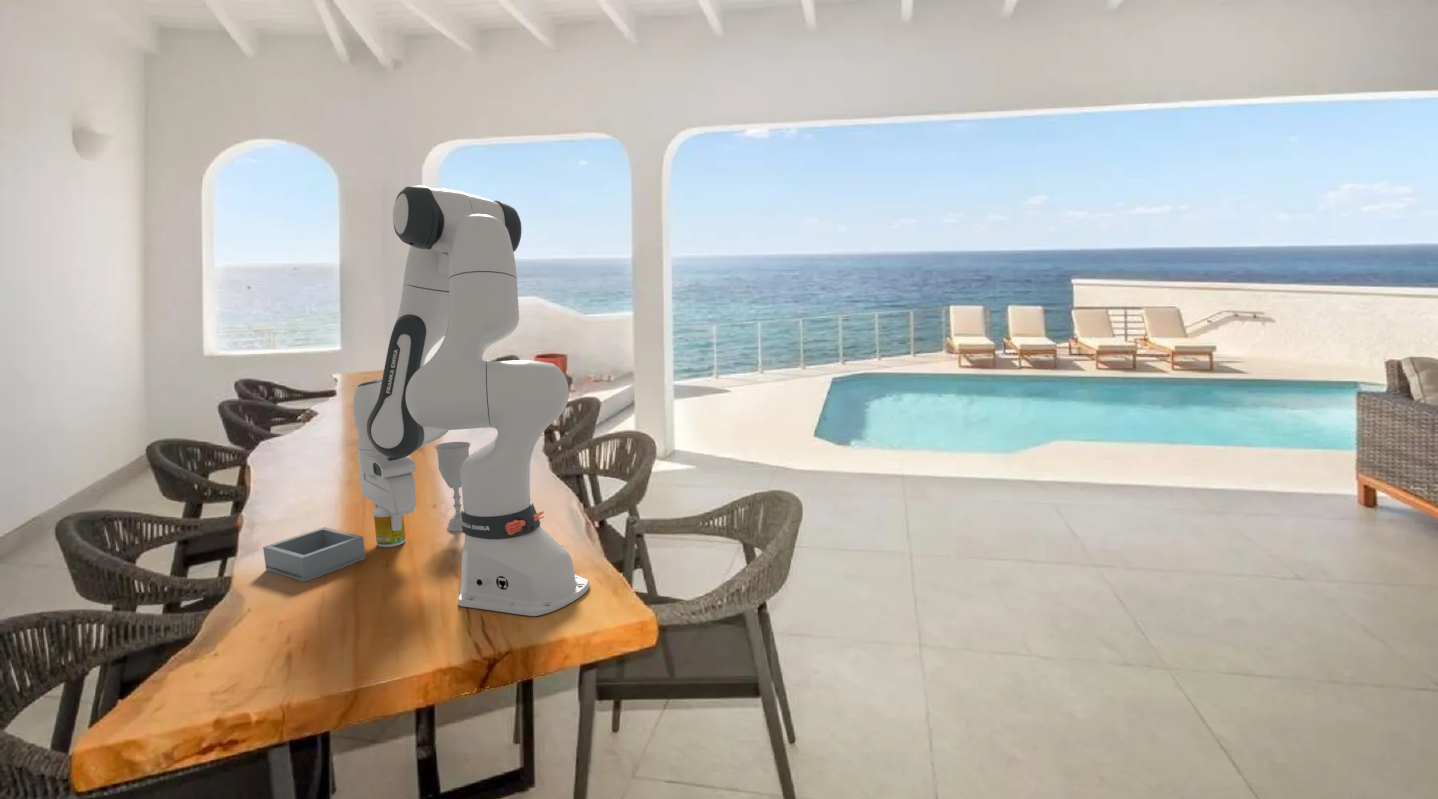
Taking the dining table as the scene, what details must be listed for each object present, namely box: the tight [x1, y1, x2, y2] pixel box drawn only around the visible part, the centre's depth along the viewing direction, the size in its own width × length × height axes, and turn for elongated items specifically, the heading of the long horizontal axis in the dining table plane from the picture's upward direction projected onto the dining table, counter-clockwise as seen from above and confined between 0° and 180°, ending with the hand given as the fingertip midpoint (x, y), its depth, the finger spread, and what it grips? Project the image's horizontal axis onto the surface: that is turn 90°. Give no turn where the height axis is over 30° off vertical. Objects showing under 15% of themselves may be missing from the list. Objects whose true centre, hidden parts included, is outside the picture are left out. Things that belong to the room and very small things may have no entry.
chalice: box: [434, 441, 471, 532], centre depth 159 cm, size 7×7×18 cm
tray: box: [262, 527, 366, 583], centre depth 141 cm, size 12×12×4 cm
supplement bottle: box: [373, 498, 406, 548], centre depth 151 cm, size 5×5×10 cm
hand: (389, 526), depth 151 cm, fingers closed on supplement bottle, 5 cm apart
